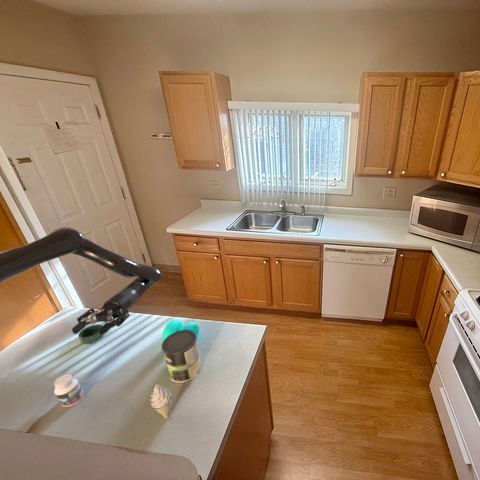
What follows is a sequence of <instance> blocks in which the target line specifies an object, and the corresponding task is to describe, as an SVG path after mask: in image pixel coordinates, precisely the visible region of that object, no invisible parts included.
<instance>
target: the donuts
mask: <svg viewBox="0 0 480 480" xmlns="http://www.w3.org/2000/svg"><path fill="white" fill-rule="evenodd" d="M180 330H191V331H193V332H194V333H195V334H196V340H198V338H199V334H200V325H199V323H198V322H196V321H189V322H187V323H186V324H185V325H184V323H183V321H182V320H181V319H179V318H174V319H172V320H170V321H169V322H168V323H167V324H166V325H165V327H164V329H163V331H162V337H161V338H162V342H163V341H164V340H165V339H166V338H167V337H168V336H169V335H171V334H172V333H174V332H177V331H180Z"/></svg>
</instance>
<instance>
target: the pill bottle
mask: <svg viewBox="0 0 480 480" xmlns="http://www.w3.org/2000/svg"><path fill="white" fill-rule="evenodd" d="M53 386H54V390H53V392H54V395H55V397H56V399H57V400H58V402H59V404H60V405H61V407H63V408H68V407H69V408H70V407H73V406H74V405H76V404H77V403H79V402H80V401H81V400H82V399H83V397H84V395H85V393H84V391H83V389H82V386H81V384H80V383H79V380H78V379H77V378H74V376H73V375H72V374H69V373H67V374H64V375H61V376H60V377H58V378H57V379H56V380H55V381H54V382H53Z"/></svg>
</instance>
